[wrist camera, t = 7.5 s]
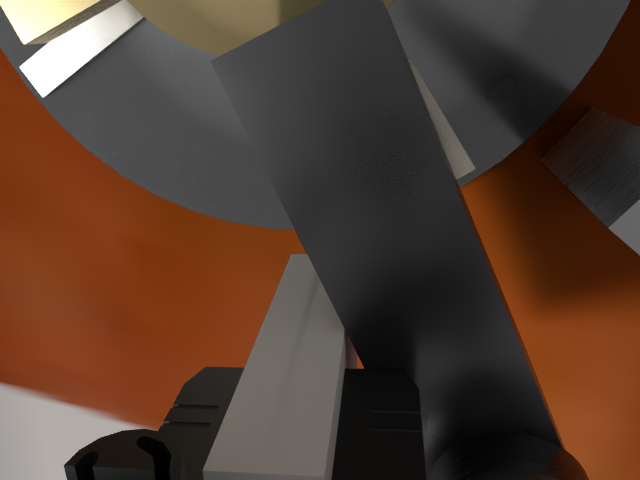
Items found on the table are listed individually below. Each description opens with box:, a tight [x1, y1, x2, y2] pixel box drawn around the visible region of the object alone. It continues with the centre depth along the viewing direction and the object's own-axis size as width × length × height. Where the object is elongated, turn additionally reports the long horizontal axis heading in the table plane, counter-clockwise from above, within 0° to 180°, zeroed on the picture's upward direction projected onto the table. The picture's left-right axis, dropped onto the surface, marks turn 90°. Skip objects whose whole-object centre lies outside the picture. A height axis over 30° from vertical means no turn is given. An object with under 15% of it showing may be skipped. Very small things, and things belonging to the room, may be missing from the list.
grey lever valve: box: [0, 0, 589, 480], centre depth 10 cm, size 18×13×8 cm
